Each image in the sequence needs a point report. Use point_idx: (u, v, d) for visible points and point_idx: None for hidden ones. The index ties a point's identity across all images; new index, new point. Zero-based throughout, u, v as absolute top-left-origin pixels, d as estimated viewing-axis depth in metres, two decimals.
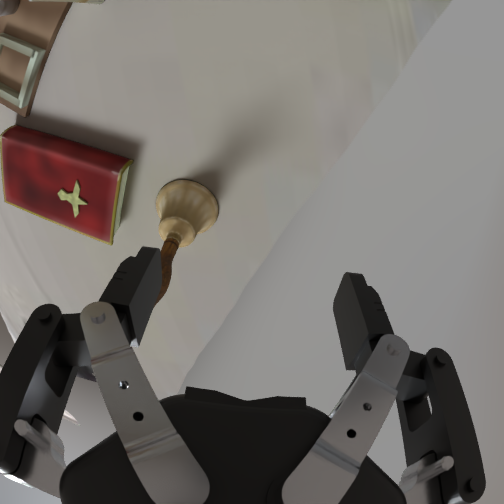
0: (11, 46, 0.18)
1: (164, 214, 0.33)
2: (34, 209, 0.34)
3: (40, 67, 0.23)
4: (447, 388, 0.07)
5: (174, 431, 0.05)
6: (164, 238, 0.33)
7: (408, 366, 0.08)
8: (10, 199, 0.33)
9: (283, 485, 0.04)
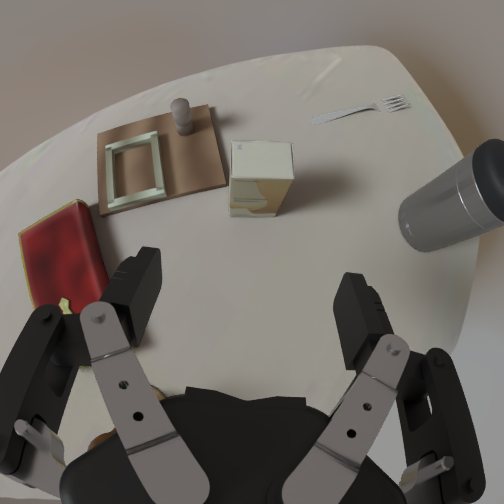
0: (154, 157, 0.37)
1: None
2: (30, 276, 0.32)
3: (149, 201, 0.37)
4: (447, 388, 0.07)
5: (174, 431, 0.05)
6: None
7: (408, 366, 0.08)
8: (24, 240, 0.33)
9: (283, 485, 0.04)
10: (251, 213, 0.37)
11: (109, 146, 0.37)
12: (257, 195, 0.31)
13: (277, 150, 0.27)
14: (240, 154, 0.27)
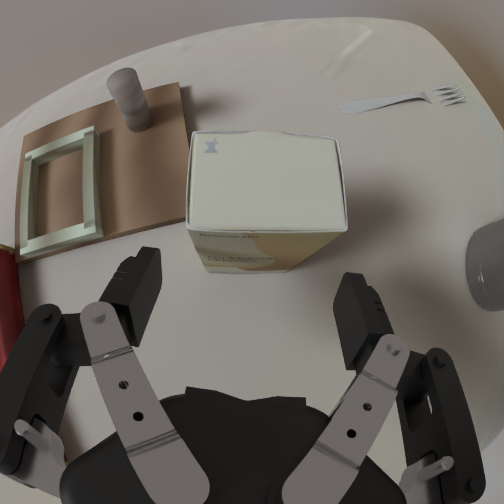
0: (85, 170, 0.20)
1: None
2: None
3: (79, 244, 0.21)
4: (447, 388, 0.07)
5: (174, 431, 0.05)
6: None
7: (408, 366, 0.08)
8: None
9: (283, 485, 0.04)
10: (244, 270, 0.20)
11: (30, 154, 0.20)
12: (256, 254, 0.14)
13: (305, 157, 0.11)
14: (211, 166, 0.11)
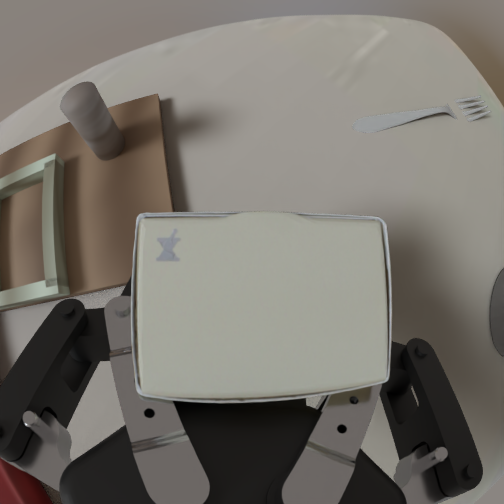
0: (44, 212, 0.16)
1: None
2: None
3: (45, 300, 0.16)
4: (432, 378, 0.07)
5: (183, 432, 0.05)
6: None
7: None
8: None
9: (283, 485, 0.04)
10: None
11: None
12: None
13: (334, 264, 0.06)
14: (169, 290, 0.06)
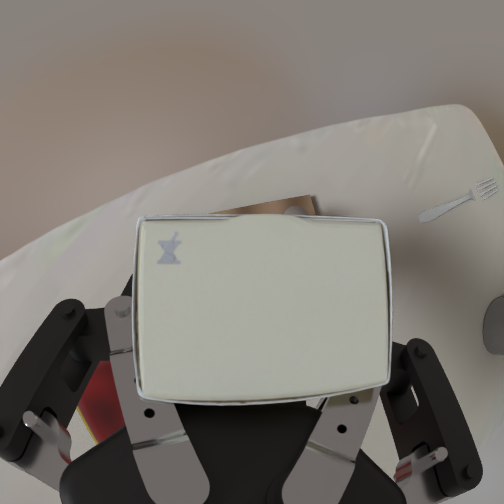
0: None
1: None
2: (90, 422, 0.25)
3: None
4: (431, 378, 0.07)
5: (183, 432, 0.05)
6: None
7: None
8: None
9: (283, 485, 0.04)
10: None
11: None
12: None
13: (335, 266, 0.06)
14: (171, 292, 0.06)
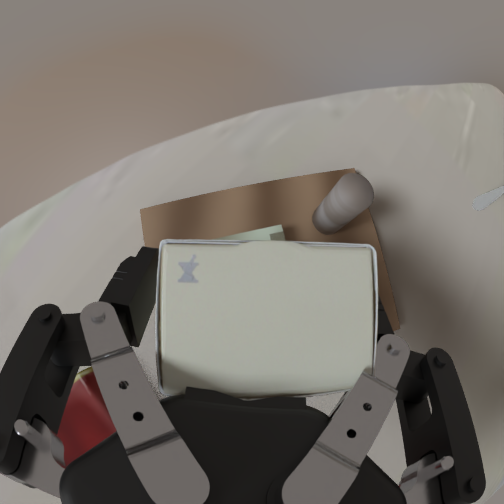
0: None
1: None
2: None
3: None
4: (447, 388, 0.07)
5: (174, 431, 0.05)
6: None
7: (408, 366, 0.08)
8: None
9: (283, 485, 0.04)
10: None
11: None
12: None
13: (328, 286, 0.08)
14: (189, 306, 0.07)
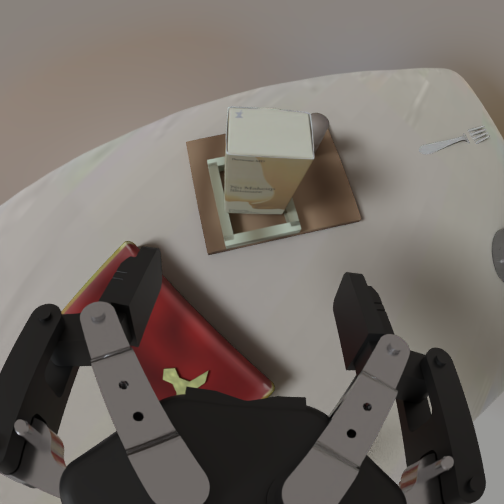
0: None
1: None
2: None
3: (276, 238, 0.32)
4: (447, 388, 0.07)
5: (174, 431, 0.05)
6: None
7: (408, 366, 0.08)
8: None
9: (283, 485, 0.04)
10: (253, 208, 0.29)
11: (214, 161, 0.31)
12: (262, 182, 0.23)
13: (291, 121, 0.19)
14: (239, 124, 0.19)
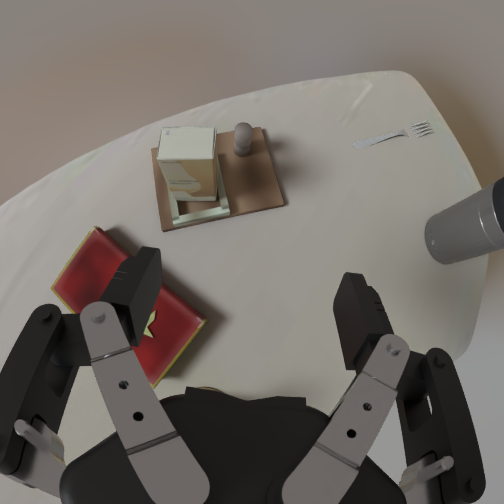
0: None
1: None
2: None
3: (212, 219, 0.42)
4: (447, 388, 0.07)
5: (174, 431, 0.05)
6: None
7: (408, 366, 0.08)
8: (59, 290, 0.36)
9: (283, 485, 0.04)
10: (191, 196, 0.38)
11: None
12: (187, 176, 0.33)
13: (200, 134, 0.29)
14: (167, 139, 0.29)
